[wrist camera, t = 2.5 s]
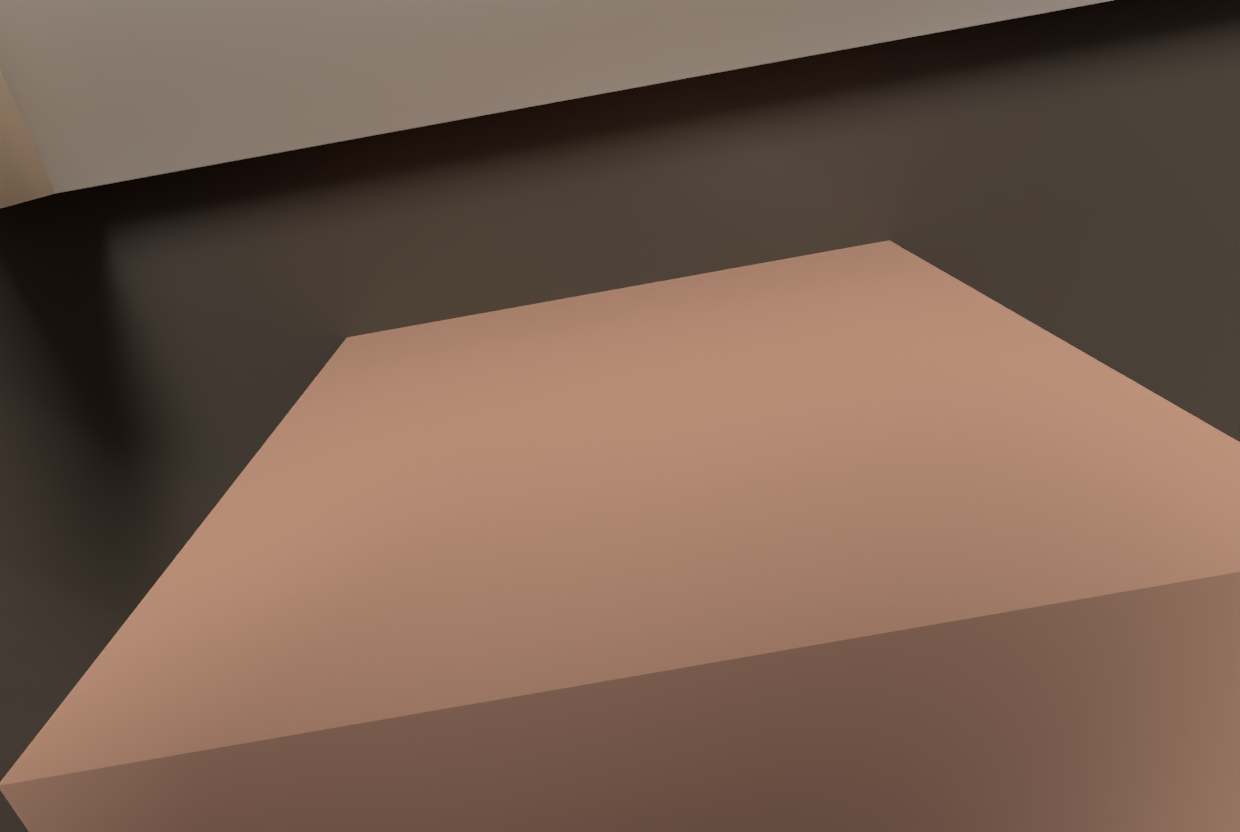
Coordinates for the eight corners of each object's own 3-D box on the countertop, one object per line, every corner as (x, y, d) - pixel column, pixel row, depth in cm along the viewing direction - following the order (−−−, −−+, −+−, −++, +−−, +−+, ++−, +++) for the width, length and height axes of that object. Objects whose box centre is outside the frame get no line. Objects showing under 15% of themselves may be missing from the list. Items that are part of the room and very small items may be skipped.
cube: (898, 669, 11) (1208, 1242, 6) (480, 741, 11) (400, 1373, 6) (886, 238, 9) (1411, 541, 3) (348, 335, 9) (-2, 786, 3)
